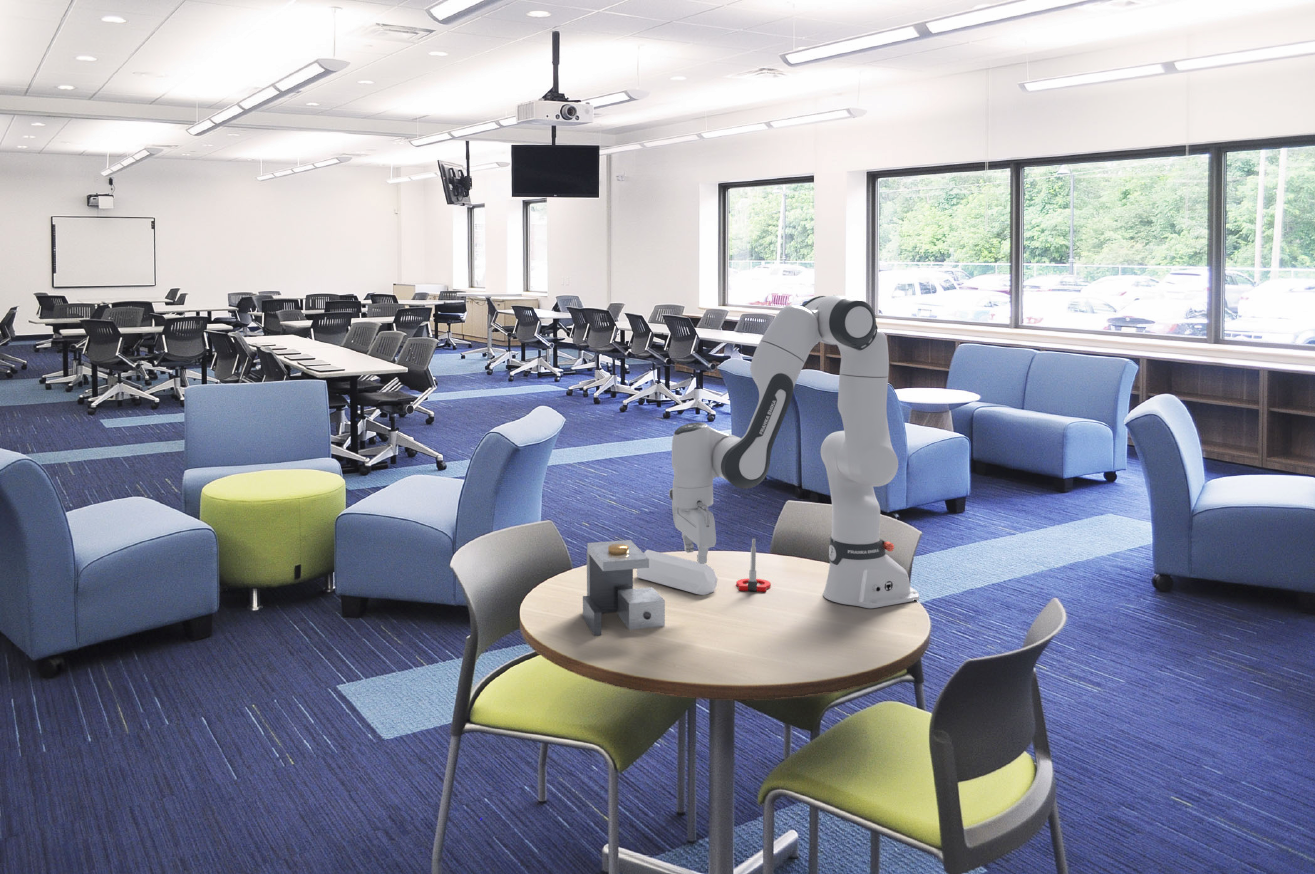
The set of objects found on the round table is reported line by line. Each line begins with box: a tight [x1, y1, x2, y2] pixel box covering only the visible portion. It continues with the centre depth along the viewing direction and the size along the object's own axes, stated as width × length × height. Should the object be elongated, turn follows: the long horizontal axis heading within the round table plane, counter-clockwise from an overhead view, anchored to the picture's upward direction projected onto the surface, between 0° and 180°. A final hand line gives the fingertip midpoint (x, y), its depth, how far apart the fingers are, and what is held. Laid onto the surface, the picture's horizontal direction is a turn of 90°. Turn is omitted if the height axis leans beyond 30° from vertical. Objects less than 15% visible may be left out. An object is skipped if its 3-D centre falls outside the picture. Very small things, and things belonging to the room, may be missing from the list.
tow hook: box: [735, 538, 772, 593], centre depth 259 cm, size 8×13×9 cm
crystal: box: [636, 549, 718, 596], centre depth 261 cm, size 7×7×24 cm
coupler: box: [582, 539, 649, 637], centre depth 233 cm, size 12×17×17 cm
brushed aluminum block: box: [617, 586, 666, 630], centre depth 234 cm, size 8×10×6 cm
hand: (695, 557), depth 236 cm, fingers open, 8 cm apart
